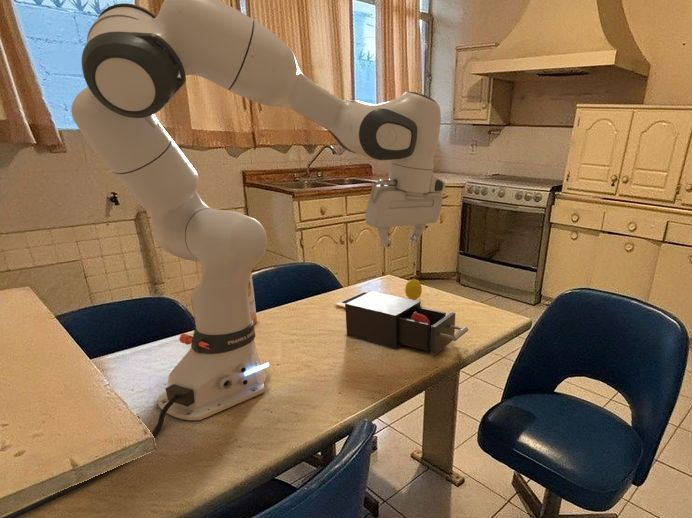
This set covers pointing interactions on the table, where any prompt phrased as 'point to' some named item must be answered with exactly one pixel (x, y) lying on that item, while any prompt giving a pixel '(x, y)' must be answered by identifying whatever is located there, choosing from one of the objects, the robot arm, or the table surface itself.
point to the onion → (420, 318)
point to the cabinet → (377, 317)
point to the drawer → (422, 336)
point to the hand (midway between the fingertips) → (400, 244)
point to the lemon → (413, 289)
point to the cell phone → (350, 299)
